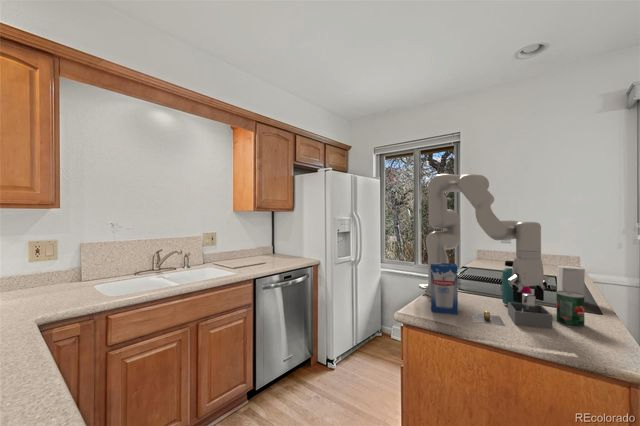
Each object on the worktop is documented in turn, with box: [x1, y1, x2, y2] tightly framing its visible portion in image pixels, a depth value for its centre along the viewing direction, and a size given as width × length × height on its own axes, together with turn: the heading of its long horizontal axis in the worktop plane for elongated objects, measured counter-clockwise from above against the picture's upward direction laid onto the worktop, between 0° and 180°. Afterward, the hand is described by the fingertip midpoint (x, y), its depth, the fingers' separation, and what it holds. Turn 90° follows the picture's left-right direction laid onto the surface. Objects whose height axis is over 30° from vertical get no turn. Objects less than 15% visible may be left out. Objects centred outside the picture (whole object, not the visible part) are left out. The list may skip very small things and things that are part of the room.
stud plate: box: [470, 310, 506, 327], centre depth 109 cm, size 10×10×4 cm
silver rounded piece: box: [517, 293, 537, 313], centre depth 106 cm, size 5×5×10 cm
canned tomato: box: [555, 290, 586, 329], centre depth 106 cm, size 8×8×11 cm
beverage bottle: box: [501, 260, 519, 306], centre depth 124 cm, size 6×7×20 cm
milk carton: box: [430, 263, 459, 315], centre depth 118 cm, size 10×6×20 cm, turn 70°
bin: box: [507, 302, 553, 330], centre depth 106 cm, size 11×11×6 cm
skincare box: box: [556, 264, 586, 296], centre depth 131 cm, size 8×7×16 cm
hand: (528, 300), depth 106 cm, fingers open, 9 cm apart
